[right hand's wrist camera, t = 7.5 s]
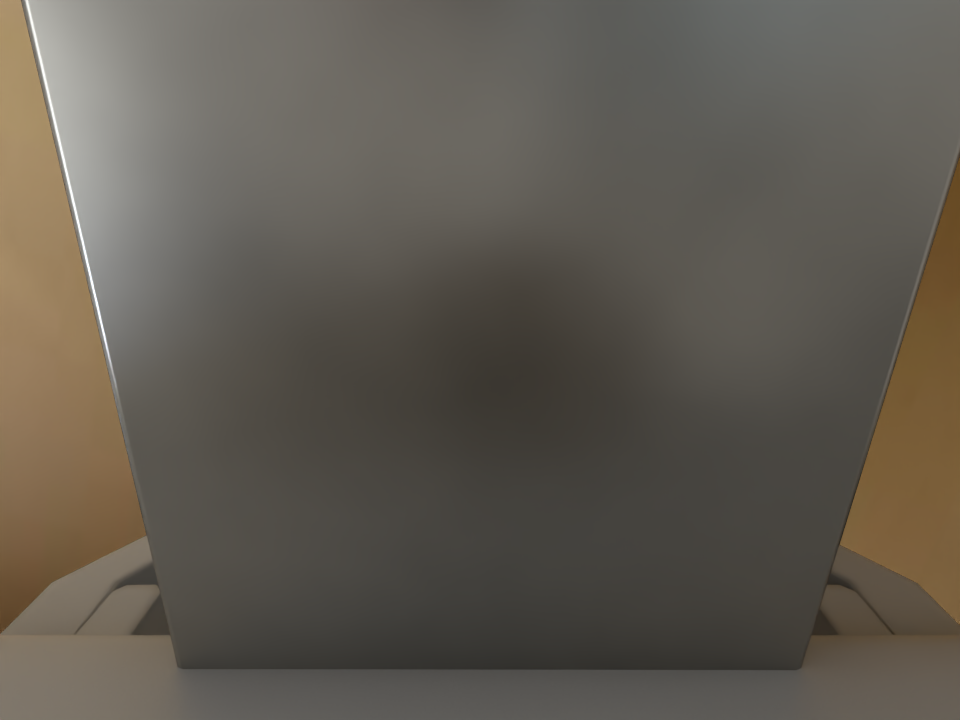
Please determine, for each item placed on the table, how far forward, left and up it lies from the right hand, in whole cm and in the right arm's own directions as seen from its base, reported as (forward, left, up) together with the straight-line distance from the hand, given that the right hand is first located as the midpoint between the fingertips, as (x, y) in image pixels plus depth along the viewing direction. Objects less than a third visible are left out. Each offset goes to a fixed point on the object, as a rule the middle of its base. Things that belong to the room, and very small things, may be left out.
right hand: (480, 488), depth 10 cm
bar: (+2, +8, -3) cm, 9 cm away
